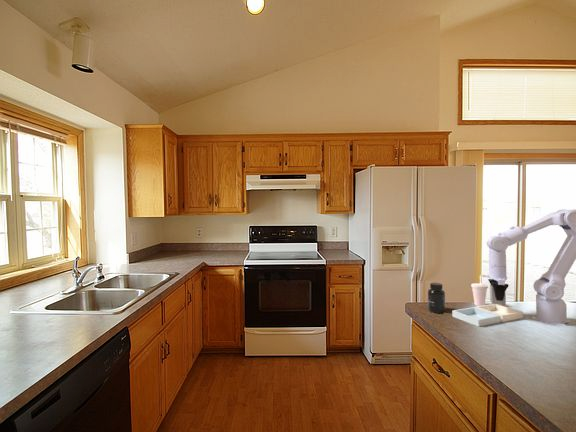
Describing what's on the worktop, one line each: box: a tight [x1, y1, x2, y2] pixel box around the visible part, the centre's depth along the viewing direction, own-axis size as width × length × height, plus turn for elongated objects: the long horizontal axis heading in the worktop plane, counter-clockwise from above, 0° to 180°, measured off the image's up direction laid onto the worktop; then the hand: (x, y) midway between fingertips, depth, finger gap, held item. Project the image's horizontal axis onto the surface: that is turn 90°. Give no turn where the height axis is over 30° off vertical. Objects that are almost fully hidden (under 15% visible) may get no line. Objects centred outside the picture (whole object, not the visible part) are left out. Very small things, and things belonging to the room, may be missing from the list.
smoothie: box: [470, 274, 489, 306], centre depth 133 cm, size 6×6×14 cm
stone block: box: [489, 284, 507, 306], centre depth 119 cm, size 4×4×6 cm
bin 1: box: [451, 306, 502, 327], centre depth 115 cm, size 11×11×3 cm
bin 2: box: [474, 303, 524, 323], centre depth 119 cm, size 11×11×3 cm
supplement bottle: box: [427, 282, 446, 314], centre depth 127 cm, size 7×7×12 cm
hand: (498, 298), depth 119 cm, fingers closed on stone block, 4 cm apart
